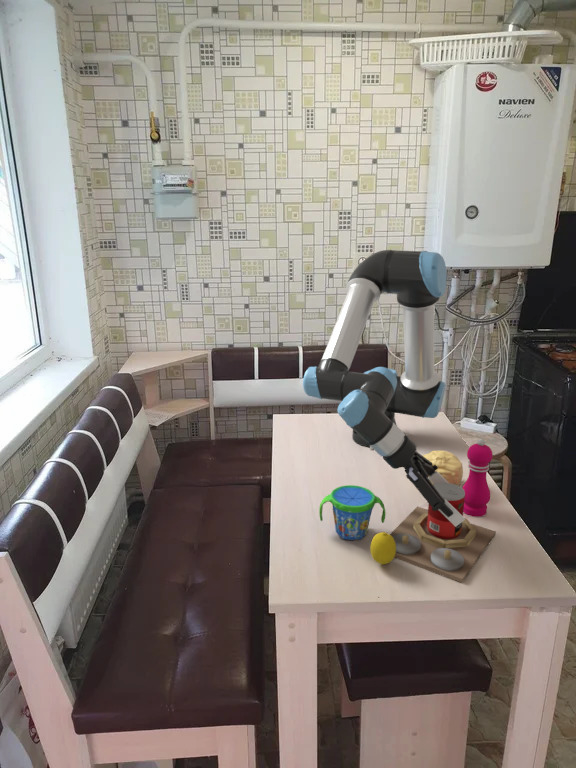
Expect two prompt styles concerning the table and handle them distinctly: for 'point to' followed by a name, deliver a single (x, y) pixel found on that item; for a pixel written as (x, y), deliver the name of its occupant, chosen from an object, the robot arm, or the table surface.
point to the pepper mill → (477, 480)
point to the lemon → (383, 548)
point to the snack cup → (352, 510)
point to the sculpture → (446, 465)
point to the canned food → (437, 521)
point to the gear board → (440, 546)
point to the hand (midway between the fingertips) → (455, 506)
